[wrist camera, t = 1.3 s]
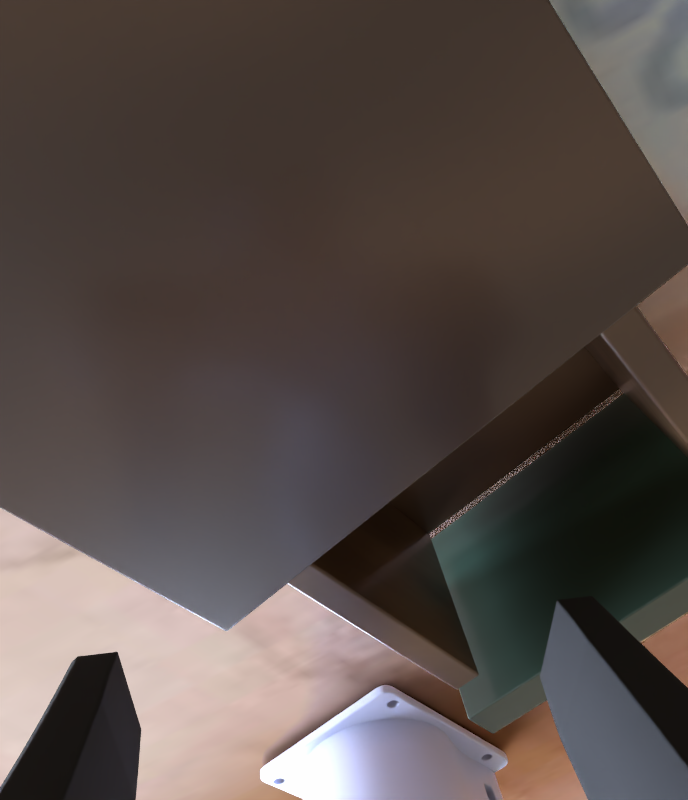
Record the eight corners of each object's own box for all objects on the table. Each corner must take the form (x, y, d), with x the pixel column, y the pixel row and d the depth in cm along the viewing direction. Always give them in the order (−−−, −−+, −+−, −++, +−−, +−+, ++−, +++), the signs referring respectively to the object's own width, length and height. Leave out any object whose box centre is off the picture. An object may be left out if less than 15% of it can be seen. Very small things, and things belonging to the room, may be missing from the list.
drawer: (724, 458, 22) (878, 601, 17) (498, 614, 25) (568, 779, 20) (439, 82, 15) (550, 121, 10) (162, 360, 18) (125, 514, 12)
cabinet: (520, 156, 17) (705, 252, 10) (233, 421, 20) (226, 633, 13) (92, -426, 11) (-160, -1151, 4) (-226, 79, 14) (-674, 142, 7)
